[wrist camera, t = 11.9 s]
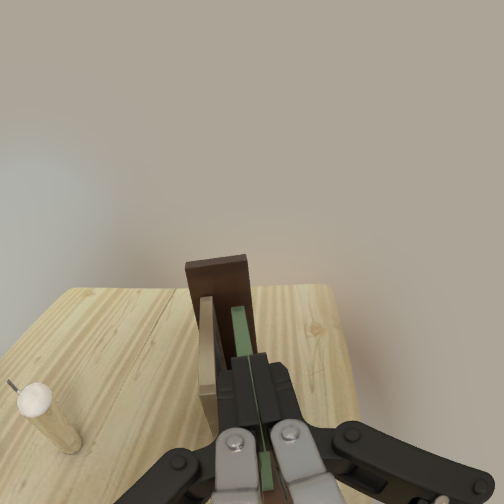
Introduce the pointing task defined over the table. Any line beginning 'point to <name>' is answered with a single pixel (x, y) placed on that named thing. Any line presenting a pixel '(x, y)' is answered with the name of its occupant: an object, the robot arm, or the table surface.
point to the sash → (246, 349)
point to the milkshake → (47, 416)
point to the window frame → (221, 331)
